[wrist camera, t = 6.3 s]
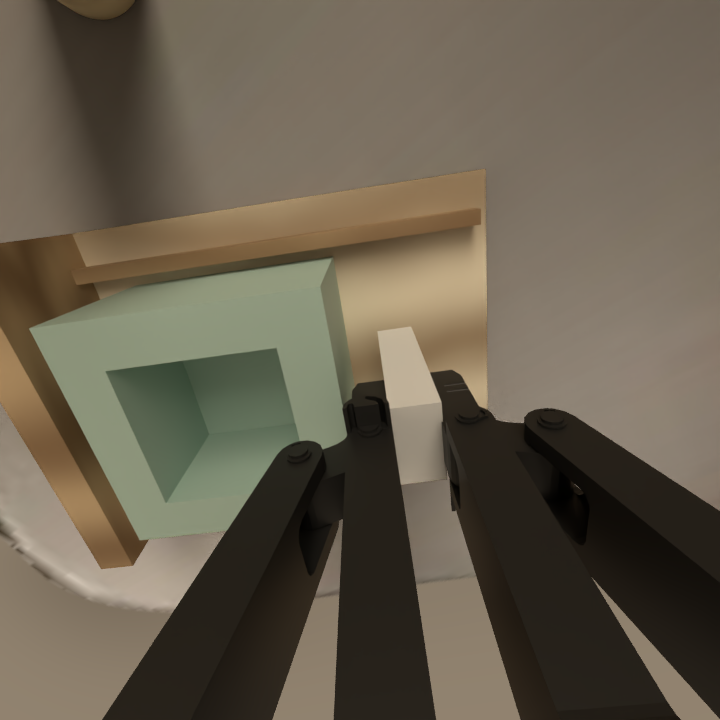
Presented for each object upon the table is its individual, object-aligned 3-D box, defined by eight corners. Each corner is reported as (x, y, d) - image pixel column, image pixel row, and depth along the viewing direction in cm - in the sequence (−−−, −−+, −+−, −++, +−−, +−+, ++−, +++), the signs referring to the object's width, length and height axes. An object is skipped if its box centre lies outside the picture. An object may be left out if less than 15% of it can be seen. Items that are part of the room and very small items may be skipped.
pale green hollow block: (136, 285, 17) (28, 328, 11) (333, 255, 16) (320, 286, 11) (198, 447, 20) (139, 540, 15) (361, 427, 20) (363, 515, 14)
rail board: (56, 236, 17) (-89, 256, 12) (478, 170, 16) (541, 156, 10) (164, 478, 23) (101, 569, 17) (482, 440, 22) (524, 523, 16)
